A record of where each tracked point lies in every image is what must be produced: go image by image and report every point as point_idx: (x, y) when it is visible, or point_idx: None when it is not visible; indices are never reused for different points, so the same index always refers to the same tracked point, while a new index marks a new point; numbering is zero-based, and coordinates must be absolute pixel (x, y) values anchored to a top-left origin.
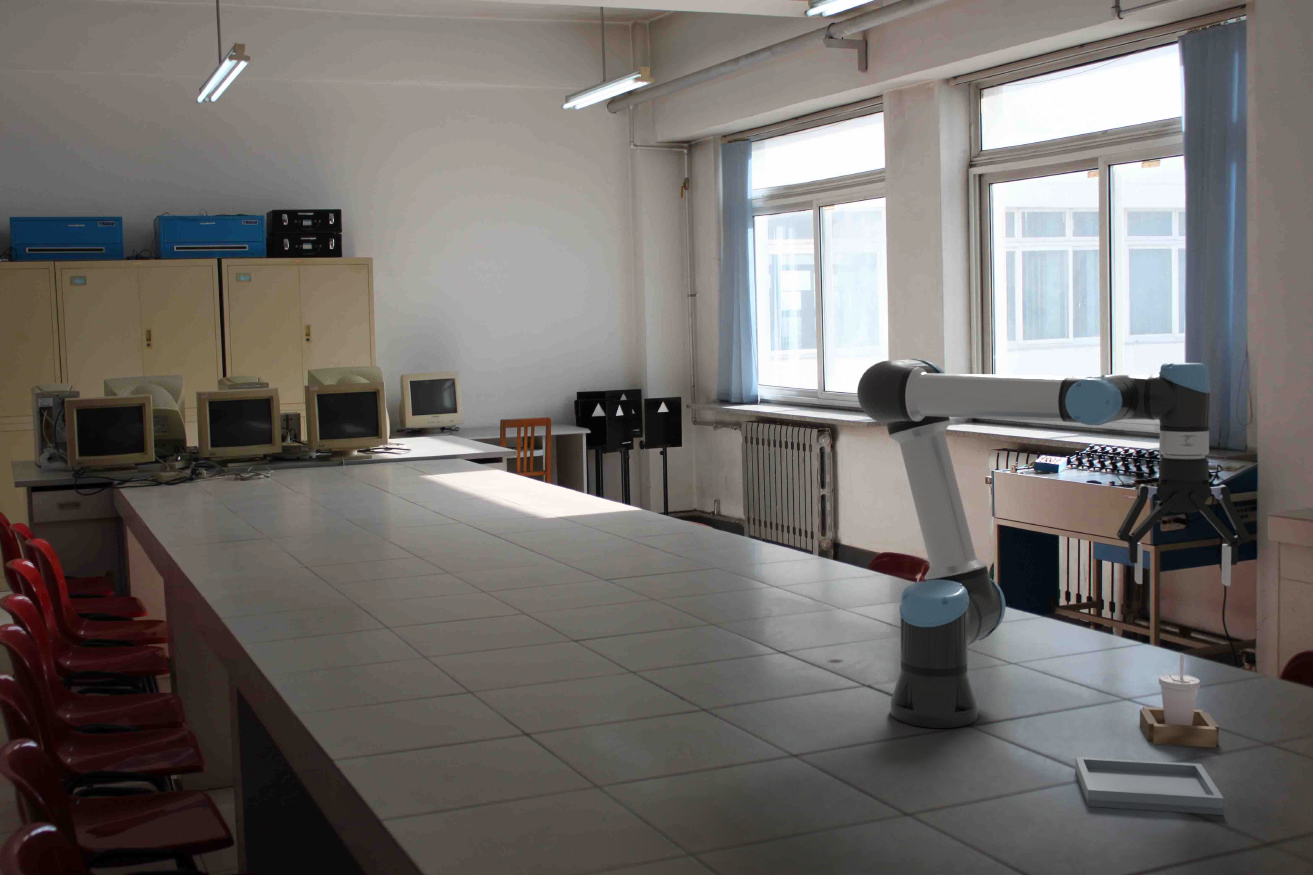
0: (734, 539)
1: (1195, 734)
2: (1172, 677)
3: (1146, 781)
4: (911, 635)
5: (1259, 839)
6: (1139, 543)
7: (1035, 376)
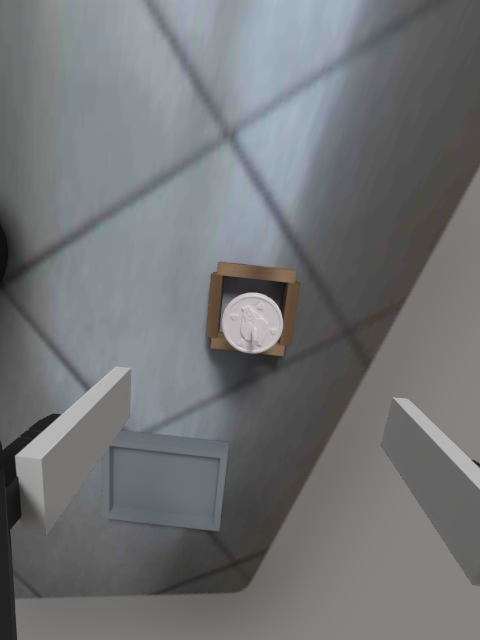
0: None
1: None
2: (243, 320)
3: (168, 470)
4: None
5: (231, 557)
6: (36, 485)
7: None
